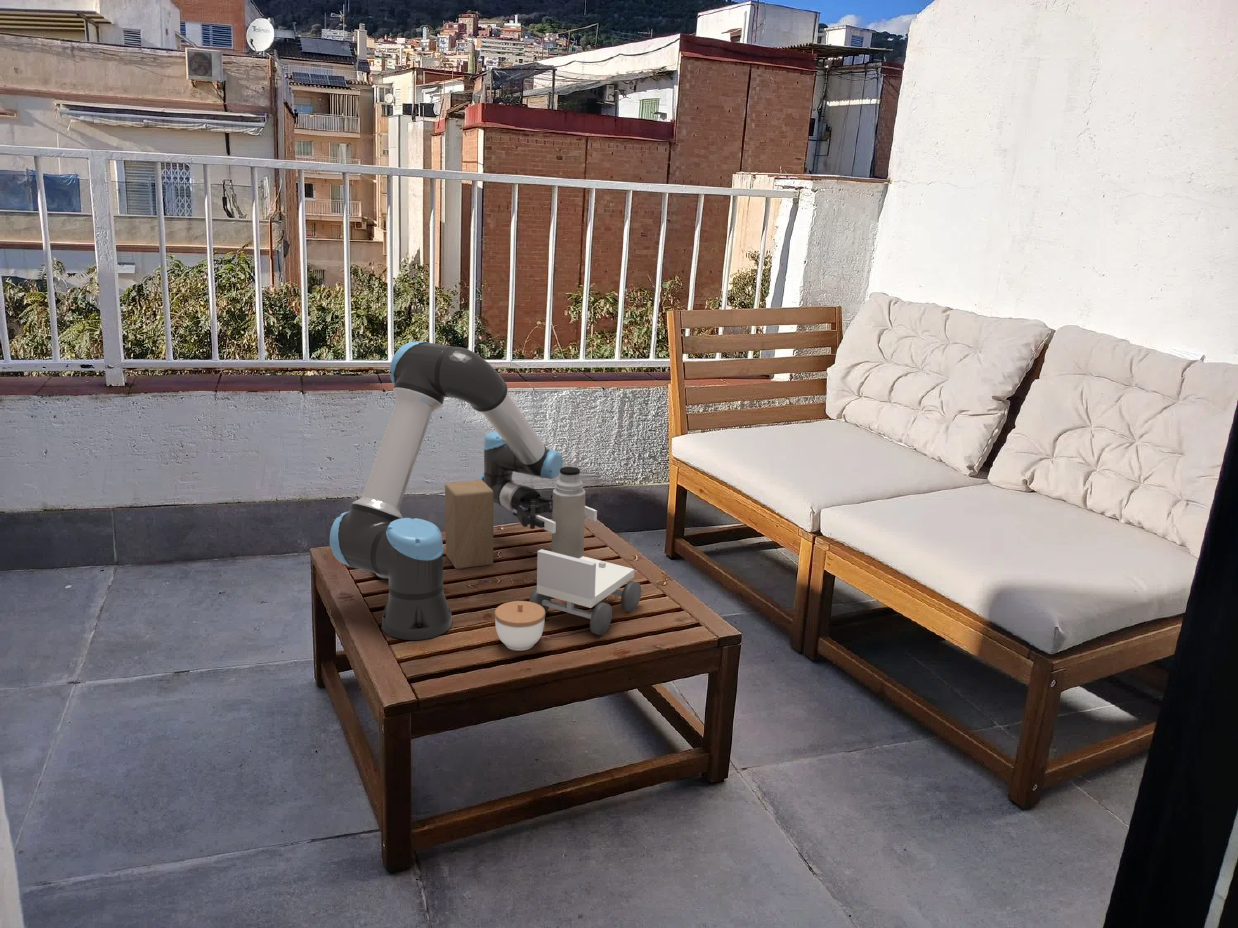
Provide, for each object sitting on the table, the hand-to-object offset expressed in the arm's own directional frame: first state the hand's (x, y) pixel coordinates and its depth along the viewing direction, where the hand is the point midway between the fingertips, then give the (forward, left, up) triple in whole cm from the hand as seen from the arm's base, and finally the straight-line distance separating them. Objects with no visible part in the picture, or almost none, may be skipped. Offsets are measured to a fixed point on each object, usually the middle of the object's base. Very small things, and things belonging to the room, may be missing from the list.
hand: (575, 521), depth 240 cm
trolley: (-15, -13, -15) cm, 25 cm away
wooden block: (-5, +28, -15) cm, 33 cm away
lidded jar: (-36, -9, -15) cm, 40 cm away
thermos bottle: (+1, +2, -15) cm, 15 cm away
